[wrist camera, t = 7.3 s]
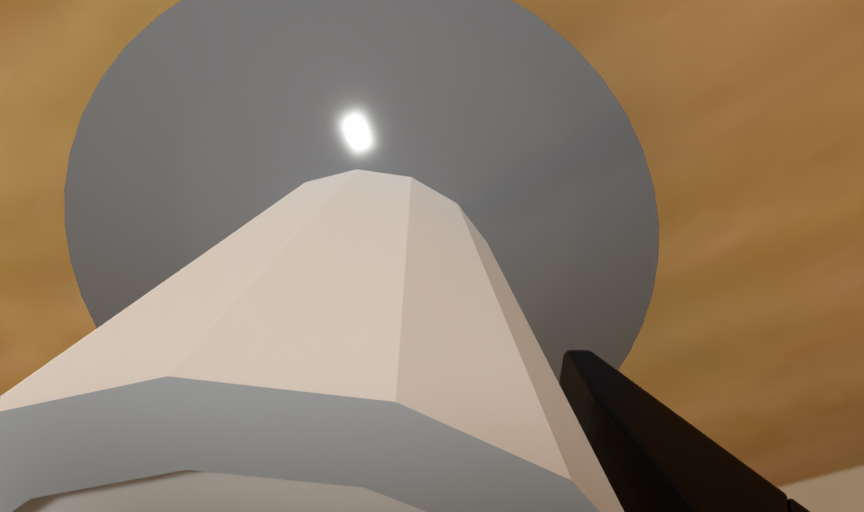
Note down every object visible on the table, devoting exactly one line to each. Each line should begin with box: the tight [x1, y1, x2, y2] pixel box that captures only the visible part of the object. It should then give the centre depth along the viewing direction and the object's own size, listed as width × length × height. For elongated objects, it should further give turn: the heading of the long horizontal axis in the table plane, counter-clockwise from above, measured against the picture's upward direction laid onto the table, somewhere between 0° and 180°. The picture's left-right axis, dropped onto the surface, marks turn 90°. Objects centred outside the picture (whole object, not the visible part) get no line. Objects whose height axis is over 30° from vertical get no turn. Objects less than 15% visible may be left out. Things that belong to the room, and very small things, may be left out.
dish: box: [65, 0, 659, 383], centre depth 11 cm, size 13×13×1 cm
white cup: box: [0, 169, 624, 512], centre depth 7 cm, size 7×7×7 cm
